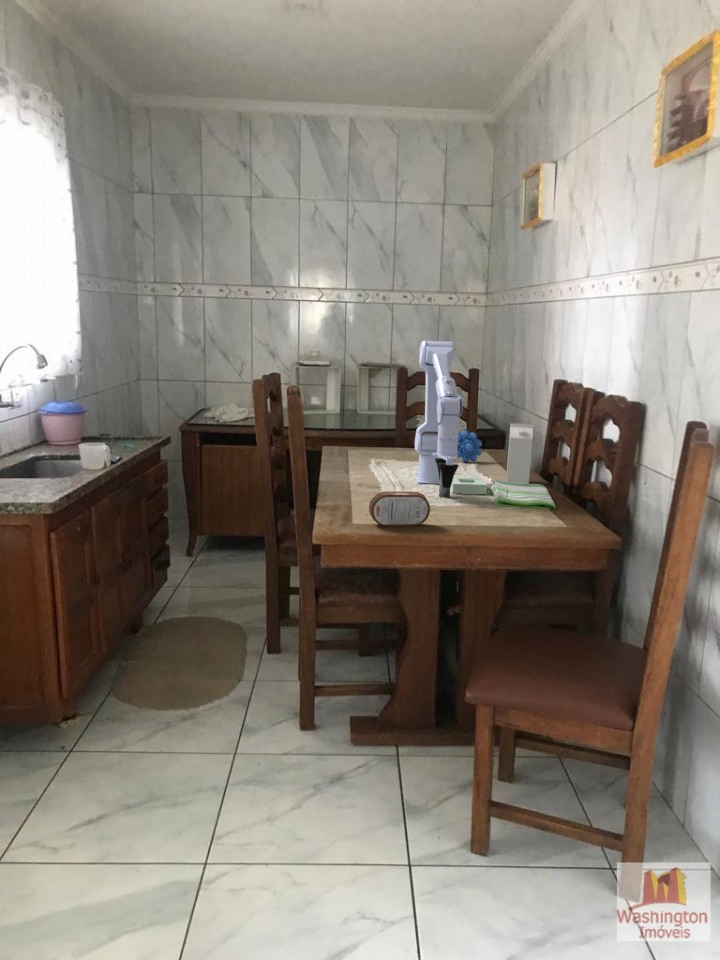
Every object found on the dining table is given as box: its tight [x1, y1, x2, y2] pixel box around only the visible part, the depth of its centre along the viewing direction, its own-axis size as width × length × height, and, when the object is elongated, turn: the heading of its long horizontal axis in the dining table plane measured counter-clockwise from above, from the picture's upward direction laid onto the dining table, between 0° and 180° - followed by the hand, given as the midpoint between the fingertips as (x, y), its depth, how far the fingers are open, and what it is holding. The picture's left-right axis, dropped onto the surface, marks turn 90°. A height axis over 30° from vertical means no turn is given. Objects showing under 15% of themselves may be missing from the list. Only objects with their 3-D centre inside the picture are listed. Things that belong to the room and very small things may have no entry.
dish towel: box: [490, 479, 557, 510], centre depth 212 cm, size 17×23×4 cm
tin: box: [368, 490, 431, 527], centre depth 178 cm, size 15×3×8 cm, turn 99°
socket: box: [450, 476, 488, 496], centre depth 220 cm, size 10×10×3 cm
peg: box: [438, 470, 451, 498], centre depth 211 cm, size 3×3×9 cm
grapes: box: [457, 429, 483, 463], centre depth 267 cm, size 12×7×12 cm, turn 99°
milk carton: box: [505, 422, 534, 484], centre depth 234 cm, size 7×7×19 cm
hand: (445, 485), depth 211 cm, fingers open, 6 cm apart
